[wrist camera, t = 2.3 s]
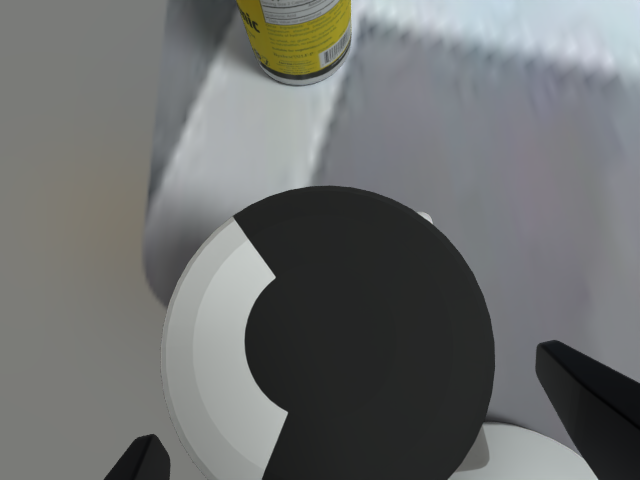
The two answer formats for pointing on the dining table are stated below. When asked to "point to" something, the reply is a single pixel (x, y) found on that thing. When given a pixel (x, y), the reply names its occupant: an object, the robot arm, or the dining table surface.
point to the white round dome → (526, 457)
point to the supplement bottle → (298, 37)
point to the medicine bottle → (329, 345)
